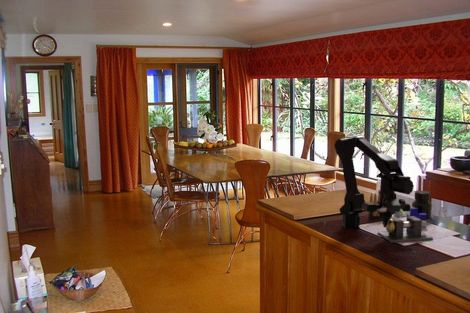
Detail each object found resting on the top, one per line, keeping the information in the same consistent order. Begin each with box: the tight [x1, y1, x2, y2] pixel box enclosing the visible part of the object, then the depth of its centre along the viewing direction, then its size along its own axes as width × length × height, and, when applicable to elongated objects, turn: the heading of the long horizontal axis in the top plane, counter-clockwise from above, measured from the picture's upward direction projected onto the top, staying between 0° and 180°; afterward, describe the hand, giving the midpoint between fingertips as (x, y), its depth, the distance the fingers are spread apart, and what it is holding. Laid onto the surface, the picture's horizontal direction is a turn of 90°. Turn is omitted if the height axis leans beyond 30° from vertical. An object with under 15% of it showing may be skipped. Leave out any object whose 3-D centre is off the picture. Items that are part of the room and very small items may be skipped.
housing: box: [377, 216, 434, 243], centre depth 209 cm, size 18×12×8 cm, turn 101°
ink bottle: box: [411, 190, 433, 220], centre depth 240 cm, size 10×9×12 cm
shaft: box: [385, 219, 428, 233], centre depth 209 cm, size 16×6×6 cm, turn 101°
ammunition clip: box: [367, 192, 393, 220], centre depth 238 cm, size 11×2×12 cm, turn 89°
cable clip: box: [406, 207, 428, 222], centre depth 229 cm, size 12×4×6 cm, turn 1°
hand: (384, 227), depth 207 cm, fingers closed
